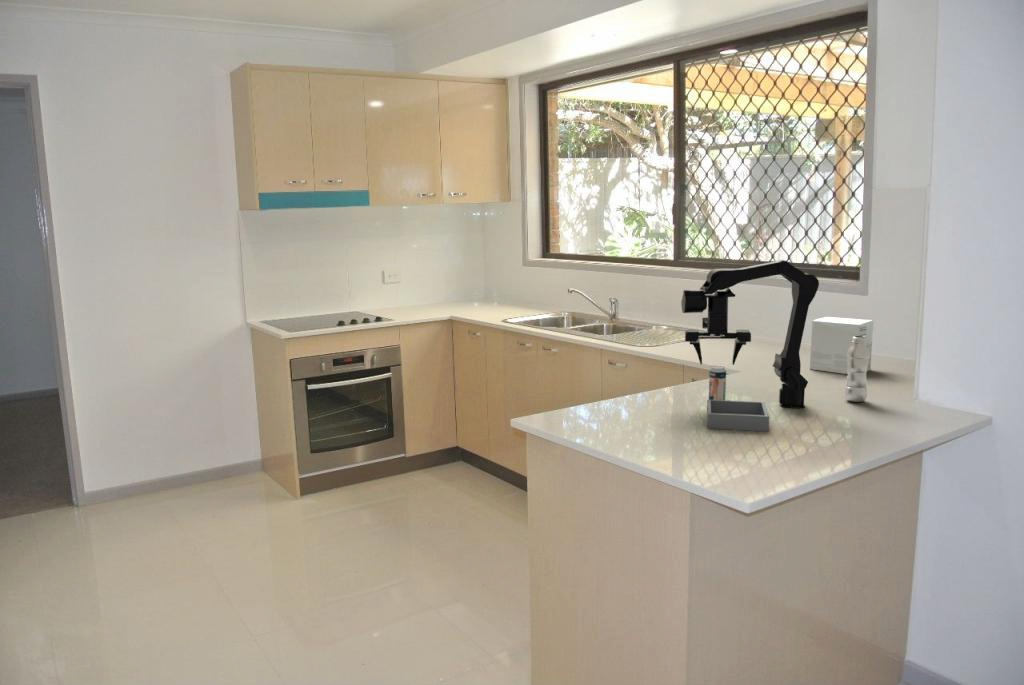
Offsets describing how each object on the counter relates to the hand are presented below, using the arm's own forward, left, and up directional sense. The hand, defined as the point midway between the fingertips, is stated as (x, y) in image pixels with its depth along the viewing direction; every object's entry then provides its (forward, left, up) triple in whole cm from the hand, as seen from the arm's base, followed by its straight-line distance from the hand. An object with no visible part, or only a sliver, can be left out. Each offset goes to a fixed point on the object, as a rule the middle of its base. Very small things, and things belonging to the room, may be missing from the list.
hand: (717, 364), depth 240 cm
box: (-5, +17, -13) cm, 22 cm away
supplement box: (-44, -59, -13) cm, 75 cm away
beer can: (0, +1, -13) cm, 13 cm away
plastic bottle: (-41, -12, -13) cm, 45 cm away
